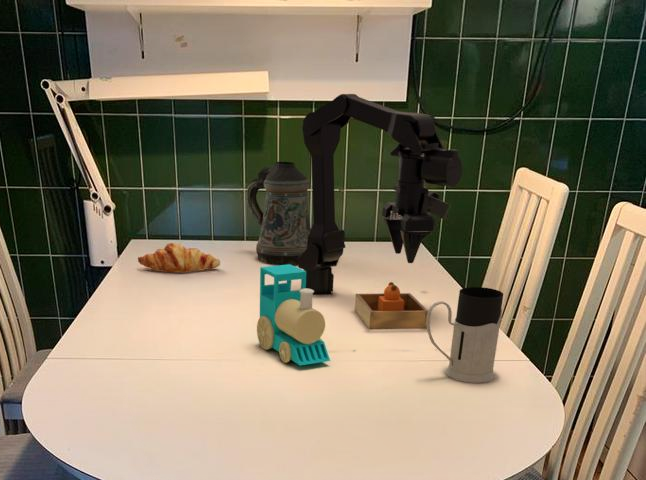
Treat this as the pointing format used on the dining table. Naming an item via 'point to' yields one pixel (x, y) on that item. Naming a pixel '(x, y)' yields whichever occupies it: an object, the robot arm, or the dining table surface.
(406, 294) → the wooden box
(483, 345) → the glass holder
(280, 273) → the toy train
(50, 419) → the dining table surface
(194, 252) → the croissant
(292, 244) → the beer stein
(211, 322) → the dining table surface
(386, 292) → the toy bear
